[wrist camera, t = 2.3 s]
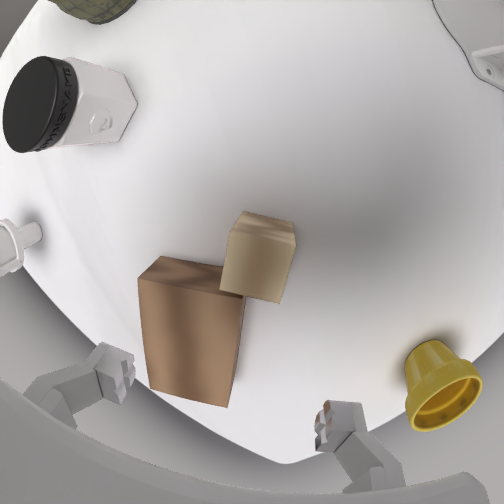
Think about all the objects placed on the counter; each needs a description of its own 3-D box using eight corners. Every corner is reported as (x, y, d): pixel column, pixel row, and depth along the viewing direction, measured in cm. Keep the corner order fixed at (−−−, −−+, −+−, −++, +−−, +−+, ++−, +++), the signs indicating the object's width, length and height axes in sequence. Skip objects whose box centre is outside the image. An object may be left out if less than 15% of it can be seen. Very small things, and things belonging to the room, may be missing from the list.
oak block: (293, 222, 27) (296, 247, 20) (281, 268, 29) (279, 303, 22) (243, 211, 27) (230, 231, 21) (233, 257, 29) (219, 289, 22)
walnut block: (250, 270, 30) (242, 299, 24) (234, 374, 35) (227, 407, 30) (161, 255, 30) (137, 278, 25) (165, 359, 36) (150, 388, 30)
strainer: (54, 226, 30) (-29, 269, 16) (45, 263, 33) (-25, 311, 19) (27, 198, 29) (-52, 231, 15) (20, 236, 32) (-49, 274, 18)
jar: (112, 160, 26) (32, 175, 15) (69, 131, 26) (-8, 137, 14) (150, 87, 23) (77, 62, 12) (101, 64, 22) (28, 44, 11)
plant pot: (385, 349, 31) (407, 405, 22) (452, 315, 29) (487, 361, 20) (396, 392, 34) (412, 441, 25) (454, 363, 31) (479, 407, 22)
